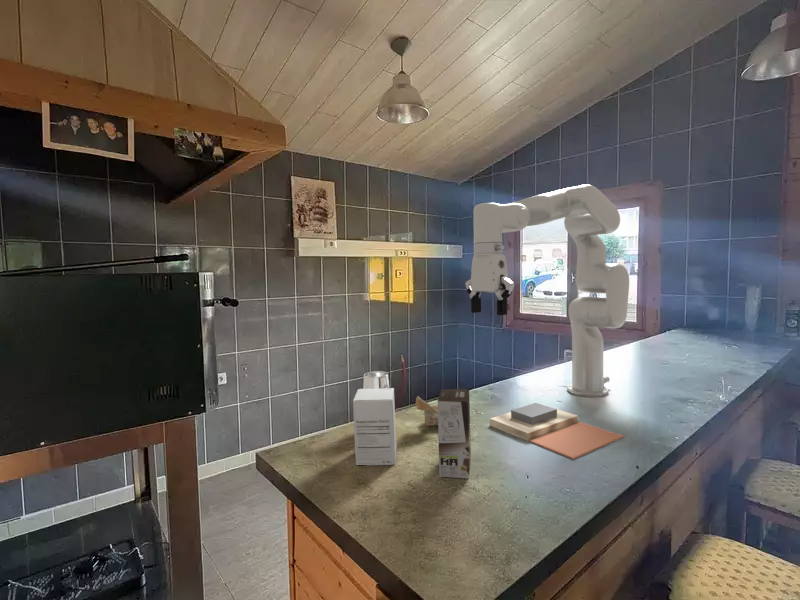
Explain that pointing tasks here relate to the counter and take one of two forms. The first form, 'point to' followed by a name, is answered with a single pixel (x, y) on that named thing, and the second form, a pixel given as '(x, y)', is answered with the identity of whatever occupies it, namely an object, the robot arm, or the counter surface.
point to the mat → (576, 439)
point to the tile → (533, 413)
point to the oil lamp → (428, 412)
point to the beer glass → (376, 380)
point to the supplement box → (374, 426)
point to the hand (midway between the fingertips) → (488, 313)
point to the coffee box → (454, 433)
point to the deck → (529, 430)
